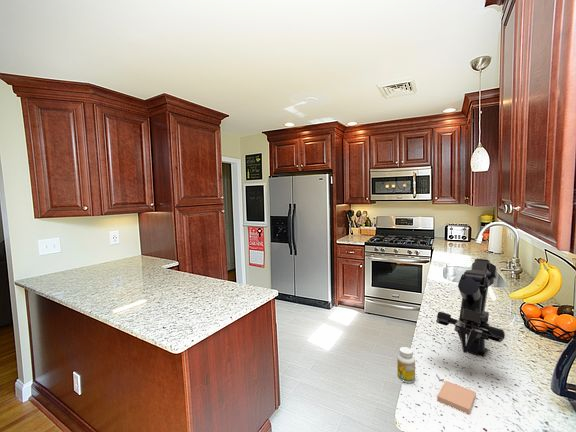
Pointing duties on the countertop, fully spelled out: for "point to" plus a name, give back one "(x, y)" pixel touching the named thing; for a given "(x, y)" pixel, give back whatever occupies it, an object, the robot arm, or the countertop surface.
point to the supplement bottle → (406, 365)
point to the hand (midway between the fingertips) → (464, 352)
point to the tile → (457, 396)
